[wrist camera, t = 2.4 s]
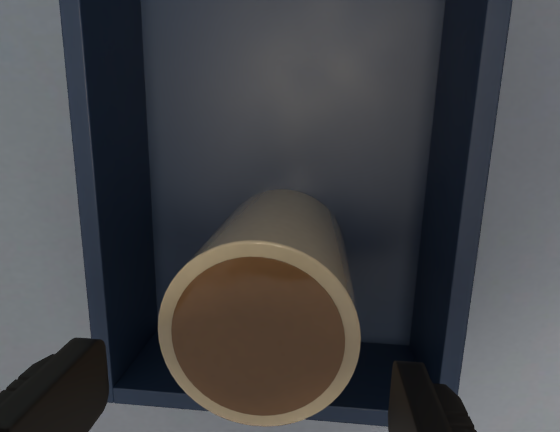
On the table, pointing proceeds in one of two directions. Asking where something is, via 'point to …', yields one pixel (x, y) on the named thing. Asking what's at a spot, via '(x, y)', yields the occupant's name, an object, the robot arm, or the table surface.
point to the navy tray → (285, 162)
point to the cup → (264, 313)
